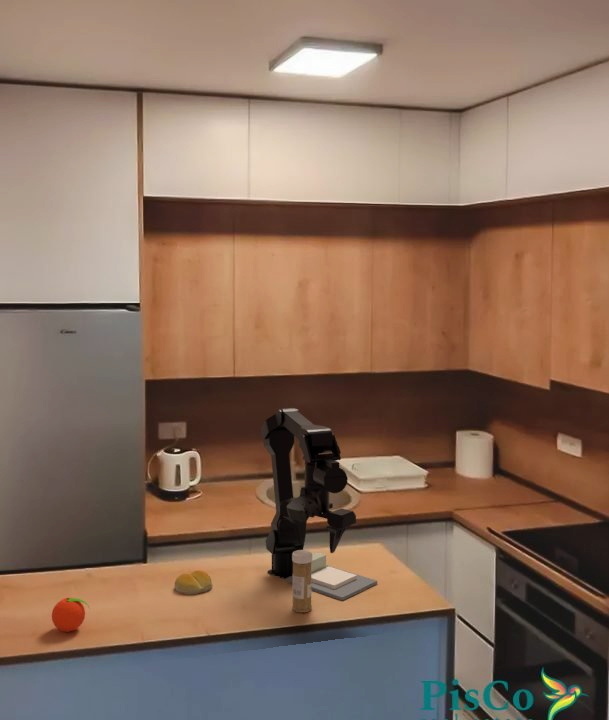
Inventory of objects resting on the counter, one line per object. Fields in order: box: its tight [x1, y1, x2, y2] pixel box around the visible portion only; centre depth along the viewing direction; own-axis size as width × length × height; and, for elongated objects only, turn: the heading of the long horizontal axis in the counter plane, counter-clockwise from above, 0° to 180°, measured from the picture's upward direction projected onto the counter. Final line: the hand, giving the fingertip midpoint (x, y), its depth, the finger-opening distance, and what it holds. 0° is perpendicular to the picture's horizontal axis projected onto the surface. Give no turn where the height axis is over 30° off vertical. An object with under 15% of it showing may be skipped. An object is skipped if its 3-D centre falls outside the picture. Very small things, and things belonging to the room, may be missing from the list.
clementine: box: [51, 597, 90, 633], centre depth 173 cm, size 8×7×7 cm
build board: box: [285, 552, 378, 601], centre depth 201 cm, size 18×14×5 cm
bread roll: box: [174, 570, 213, 595], centre depth 197 cm, size 8×9×4 cm
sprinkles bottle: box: [291, 549, 313, 614], centre depth 184 cm, size 5×5×13 cm
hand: (316, 548), depth 187 cm, fingers open, 9 cm apart
